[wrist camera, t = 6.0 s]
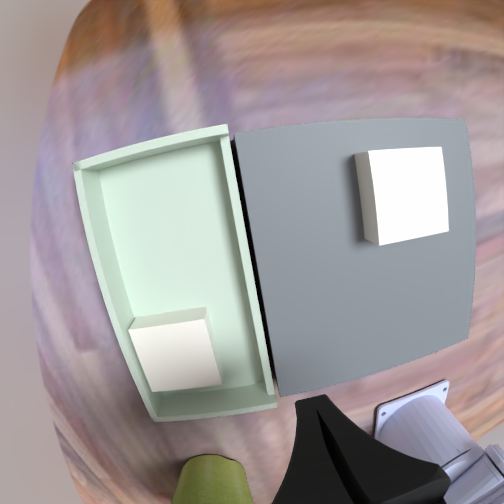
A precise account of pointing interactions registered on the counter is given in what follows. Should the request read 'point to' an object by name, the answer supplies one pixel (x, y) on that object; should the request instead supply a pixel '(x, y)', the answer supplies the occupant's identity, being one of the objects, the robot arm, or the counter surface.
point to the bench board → (353, 251)
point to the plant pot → (212, 482)
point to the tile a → (177, 349)
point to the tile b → (402, 193)
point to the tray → (178, 261)
